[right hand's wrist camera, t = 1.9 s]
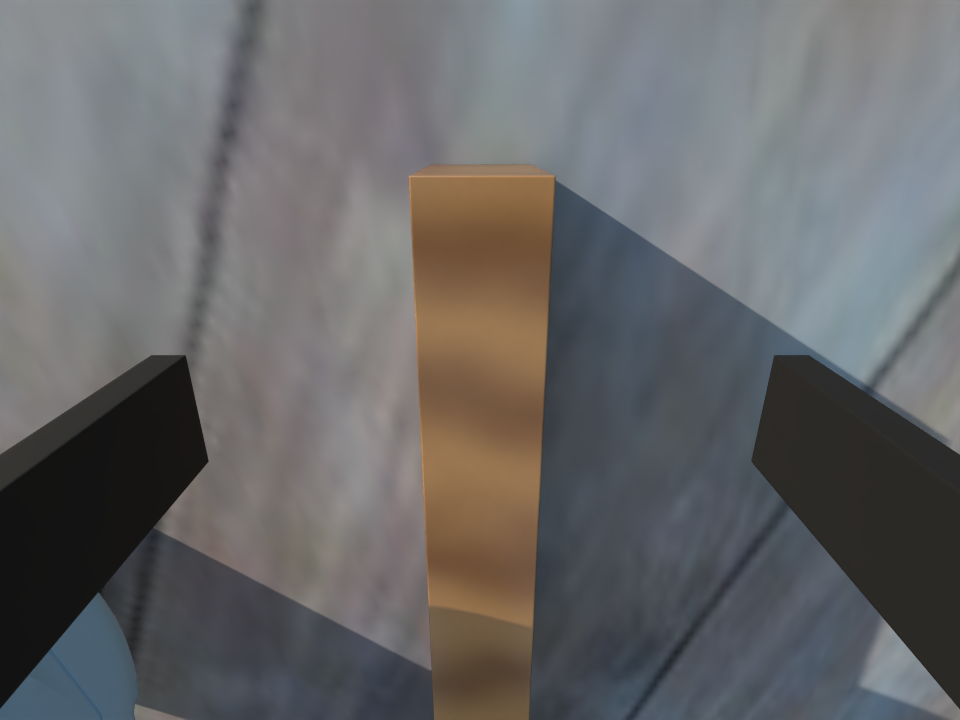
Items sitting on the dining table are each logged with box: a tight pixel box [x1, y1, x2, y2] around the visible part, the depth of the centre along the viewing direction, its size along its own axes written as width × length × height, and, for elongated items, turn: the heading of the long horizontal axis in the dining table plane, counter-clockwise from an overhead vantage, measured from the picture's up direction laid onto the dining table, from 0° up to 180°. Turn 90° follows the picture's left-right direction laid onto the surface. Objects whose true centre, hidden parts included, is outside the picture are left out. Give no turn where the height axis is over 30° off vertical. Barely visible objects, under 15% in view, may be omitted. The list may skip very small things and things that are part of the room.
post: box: [409, 165, 556, 720], centre depth 30 cm, size 53×4×8 cm, turn 0°
